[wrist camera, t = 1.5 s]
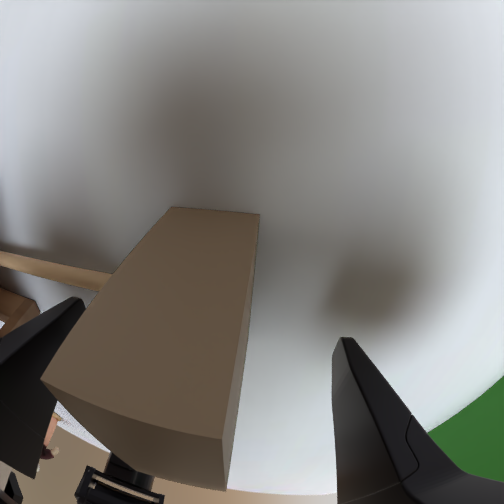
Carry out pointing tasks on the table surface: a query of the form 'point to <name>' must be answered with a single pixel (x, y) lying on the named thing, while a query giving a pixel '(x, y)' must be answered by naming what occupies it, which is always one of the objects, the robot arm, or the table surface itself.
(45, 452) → the grandmother figurine
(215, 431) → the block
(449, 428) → the hardback book
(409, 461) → the robot arm
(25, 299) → the shelf lane
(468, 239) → the table surface
